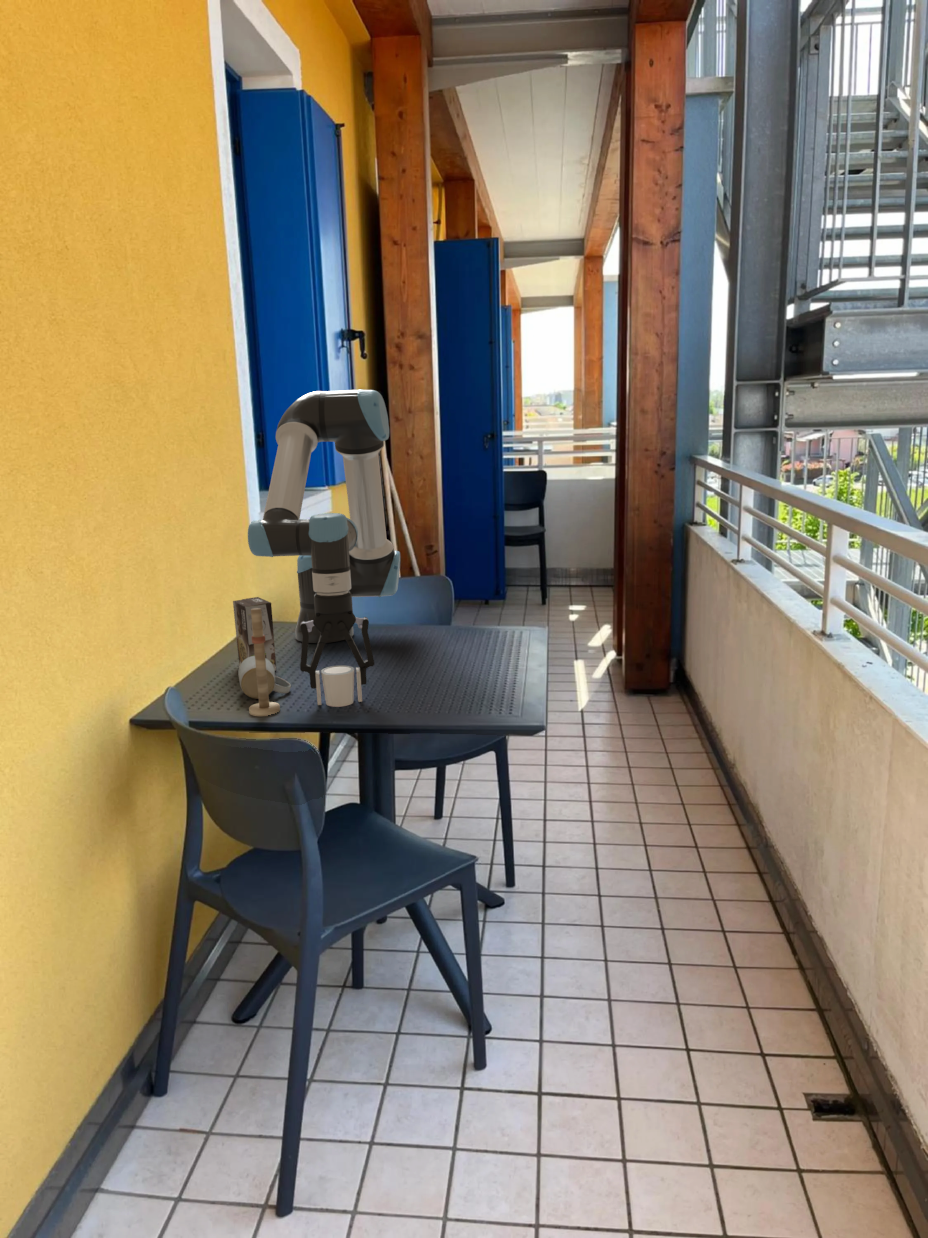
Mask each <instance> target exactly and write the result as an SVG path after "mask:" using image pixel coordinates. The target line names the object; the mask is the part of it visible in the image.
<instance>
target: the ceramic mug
mask: <svg viewBox="0 0 928 1238" xmlns="http://www.w3.org/2000/svg"><path fill="white" fill-rule="evenodd" d="M265 660H266V671H267V683H268V695H270V694H271V693H272V692H275V693H278V694H289V693H290V691H291V688H292V684H291V683H290V682H289V681H287V680H286V679H284V678H282V677H279V676H277V675H276V674H275V673H276V672H275V670H274V667H273V665H272V663H271V662H270V661H269V660H268V659H266V658H265ZM237 673H238V675H237V676H238V679H239V686H240V689H241V691H242V692H243V694H245V695H246V696H247V697H249V698H251V699H258V700H259V698H258V687H257V675H256V664H255V656H251V657H248V658H246V659H245V660H244V661H243V662H242V663H241V665H240V667H238V672H237Z"/></svg>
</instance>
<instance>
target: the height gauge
mask: <svg viewBox="0 0 928 1238" xmlns="http://www.w3.org/2000/svg"><path fill="white" fill-rule="evenodd" d="M251 618H252V630H253V636H252V643H254V653H255V664H256V675H257V687H258V698H259V699H258V702H257V703H254V704H251V705H250V706H249V707H248V710H249V711H248V712H249V715H251V716H253V717H268V715H270V716H272V715H271V714H274V715H276V714H278V713H279V712H280V710H281V708H280V707H281V705H280V704H279V703H278V702H275V701H274V702H273V701H270V699H269V698H270V697H269V695H270V694H269V695H268V683H267V671H266V660H265V648H264V642H266V641H265V635H263V624H262V612H261V608H254V609H251ZM277 712H278V713H277ZM275 713H276V714H275Z"/></svg>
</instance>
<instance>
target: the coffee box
mask: <svg viewBox="0 0 928 1238" xmlns="http://www.w3.org/2000/svg"><path fill="white" fill-rule="evenodd" d="M232 607H233V617H234V625H235V626H234V627H235V636H236V647H237V656H238V665H239V667H240V665H241V663H242V662H243V661H244V660H245V659H246V658H248V657H251V656H255V653H254V643H252V636H253V630H252V618H251V609H254V608H261V612H262V624H263V635H265V641H266V642H264V648H265V658H266V659H268V660H269V661H270V662H271V663H272V665H273V667H274V670H275V671H277V660H276V647H275V637H274V636H275V634H274V622H273V620H274V619H273V610H272V609H273V608H272V602H271V601H268V600H266V599H263V598H261V597H259V596H255V597H254V596H253V597H248V598H244V599H243V598H242V599H238V600H233V601H232ZM239 667H238V668H239Z"/></svg>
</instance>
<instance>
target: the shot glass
mask: <svg viewBox="0 0 928 1238" xmlns="http://www.w3.org/2000/svg"><path fill="white" fill-rule="evenodd" d="M320 675H321V680H322V686H323V692H324V699H325V704H326V705H327V706H329V707H334V708H335V707H336V708H338V707H346V706H349V705H352V704H354V695H355V693H354V692H355V689H354V688H355V667H353V666H351V665H332V666H327V667H325V668H322V669H321V670H320Z"/></svg>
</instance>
